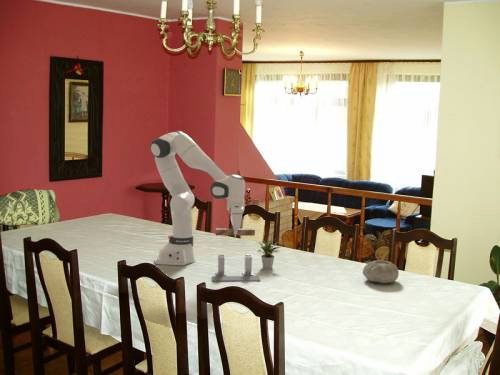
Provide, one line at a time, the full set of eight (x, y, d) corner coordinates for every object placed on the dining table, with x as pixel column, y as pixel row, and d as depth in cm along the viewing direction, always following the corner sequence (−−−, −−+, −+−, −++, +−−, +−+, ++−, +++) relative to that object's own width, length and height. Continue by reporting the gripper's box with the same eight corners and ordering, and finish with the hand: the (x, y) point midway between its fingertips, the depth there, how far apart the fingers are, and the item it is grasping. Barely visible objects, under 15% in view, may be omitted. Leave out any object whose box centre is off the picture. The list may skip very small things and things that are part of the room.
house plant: (260, 272, 314) (261, 242, 312) (248, 265, 326) (249, 236, 324) (283, 269, 321) (284, 239, 318) (271, 263, 333) (272, 234, 331)
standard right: (243, 276, 307) (244, 257, 306) (242, 272, 314) (243, 254, 312) (253, 276, 308) (253, 257, 306) (252, 272, 314) (252, 254, 313)
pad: (212, 281, 297) (212, 280, 297) (211, 277, 304) (211, 276, 304) (260, 281, 300) (260, 279, 300) (258, 276, 307) (258, 275, 307)
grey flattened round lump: (391, 289, 292) (392, 269, 290) (357, 282, 301) (357, 263, 299) (402, 280, 307) (404, 261, 305) (369, 274, 316) (370, 255, 314)
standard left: (216, 276, 306) (216, 257, 304) (215, 272, 312) (216, 254, 311) (226, 276, 306) (226, 257, 305) (225, 272, 313) (225, 254, 311)
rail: (215, 235, 304) (215, 229, 304) (215, 234, 307) (215, 228, 307) (254, 235, 307) (255, 229, 306) (254, 234, 309) (254, 228, 309)
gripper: (228, 203, 315) (227, 228, 317) (231, 210, 294) (230, 238, 297) (240, 203, 315) (239, 229, 317) (243, 210, 295) (243, 238, 297)
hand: (235, 233), depth 307 cm, fingers closed on rail, 3 cm apart
